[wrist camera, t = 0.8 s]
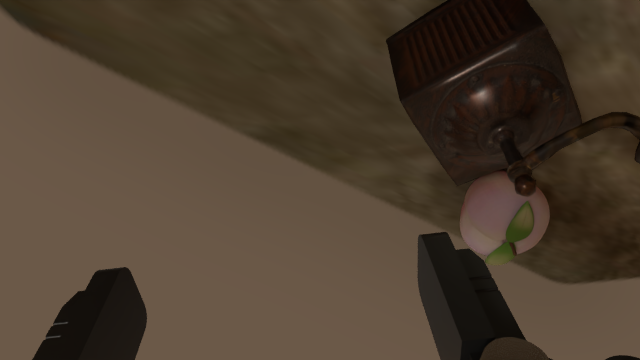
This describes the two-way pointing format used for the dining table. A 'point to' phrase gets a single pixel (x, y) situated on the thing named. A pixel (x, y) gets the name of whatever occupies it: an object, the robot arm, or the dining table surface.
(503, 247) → the decorative fruit
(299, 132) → the dining table surface
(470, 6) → the manual coffee grinder
